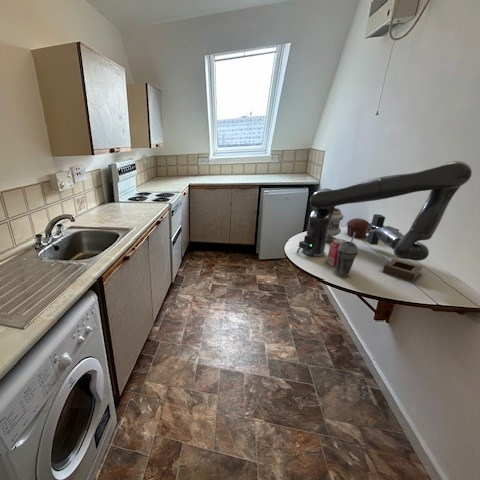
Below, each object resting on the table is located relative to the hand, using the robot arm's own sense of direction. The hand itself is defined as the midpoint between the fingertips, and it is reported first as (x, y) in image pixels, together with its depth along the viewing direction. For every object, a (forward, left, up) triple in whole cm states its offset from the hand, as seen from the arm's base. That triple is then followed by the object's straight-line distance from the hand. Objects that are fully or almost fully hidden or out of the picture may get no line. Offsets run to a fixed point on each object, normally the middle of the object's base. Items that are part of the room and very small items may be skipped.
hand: (373, 225), depth 139 cm
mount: (-17, -25, -12) cm, 33 cm away
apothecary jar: (-11, +17, -12) cm, 23 cm away
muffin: (+9, +14, -12) cm, 20 cm away
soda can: (-35, -8, -12) cm, 38 cm away
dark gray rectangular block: (-2, -2, -9) cm, 9 cm away
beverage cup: (-41, -16, -12) cm, 45 cm away
